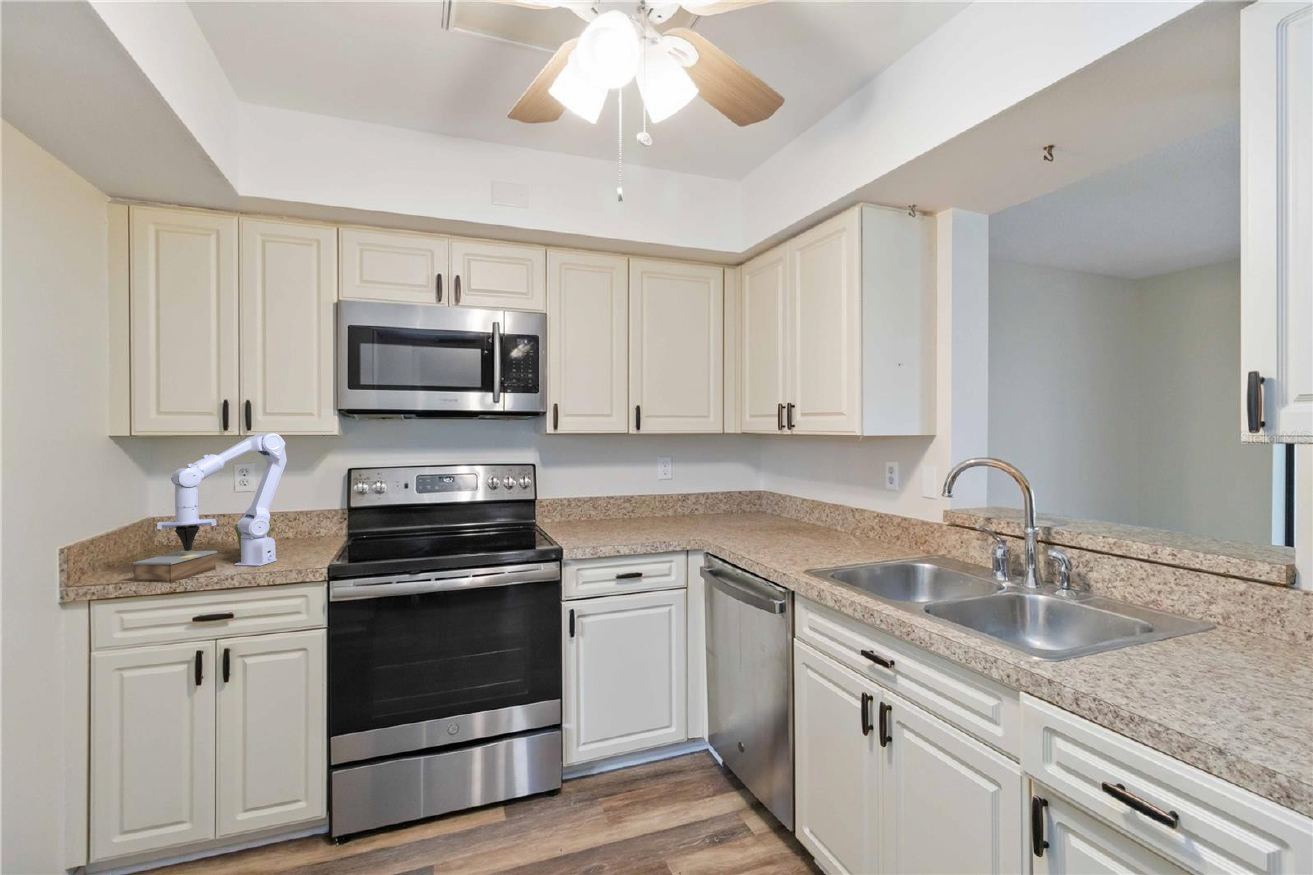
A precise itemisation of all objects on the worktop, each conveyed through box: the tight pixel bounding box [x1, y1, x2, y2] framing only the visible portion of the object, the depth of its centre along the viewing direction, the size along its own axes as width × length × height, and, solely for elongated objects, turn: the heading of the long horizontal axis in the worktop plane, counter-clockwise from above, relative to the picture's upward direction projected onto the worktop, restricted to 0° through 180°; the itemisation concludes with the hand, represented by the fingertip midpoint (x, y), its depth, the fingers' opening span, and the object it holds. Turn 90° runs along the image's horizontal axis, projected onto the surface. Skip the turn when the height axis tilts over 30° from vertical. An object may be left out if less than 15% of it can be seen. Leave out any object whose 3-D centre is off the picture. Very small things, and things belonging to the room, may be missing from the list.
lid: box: [132, 550, 218, 566], centre depth 186 cm, size 12×16×1 cm
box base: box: [133, 553, 217, 583], centre depth 186 cm, size 12×16×5 cm
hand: (188, 550), depth 187 cm, fingers closed
